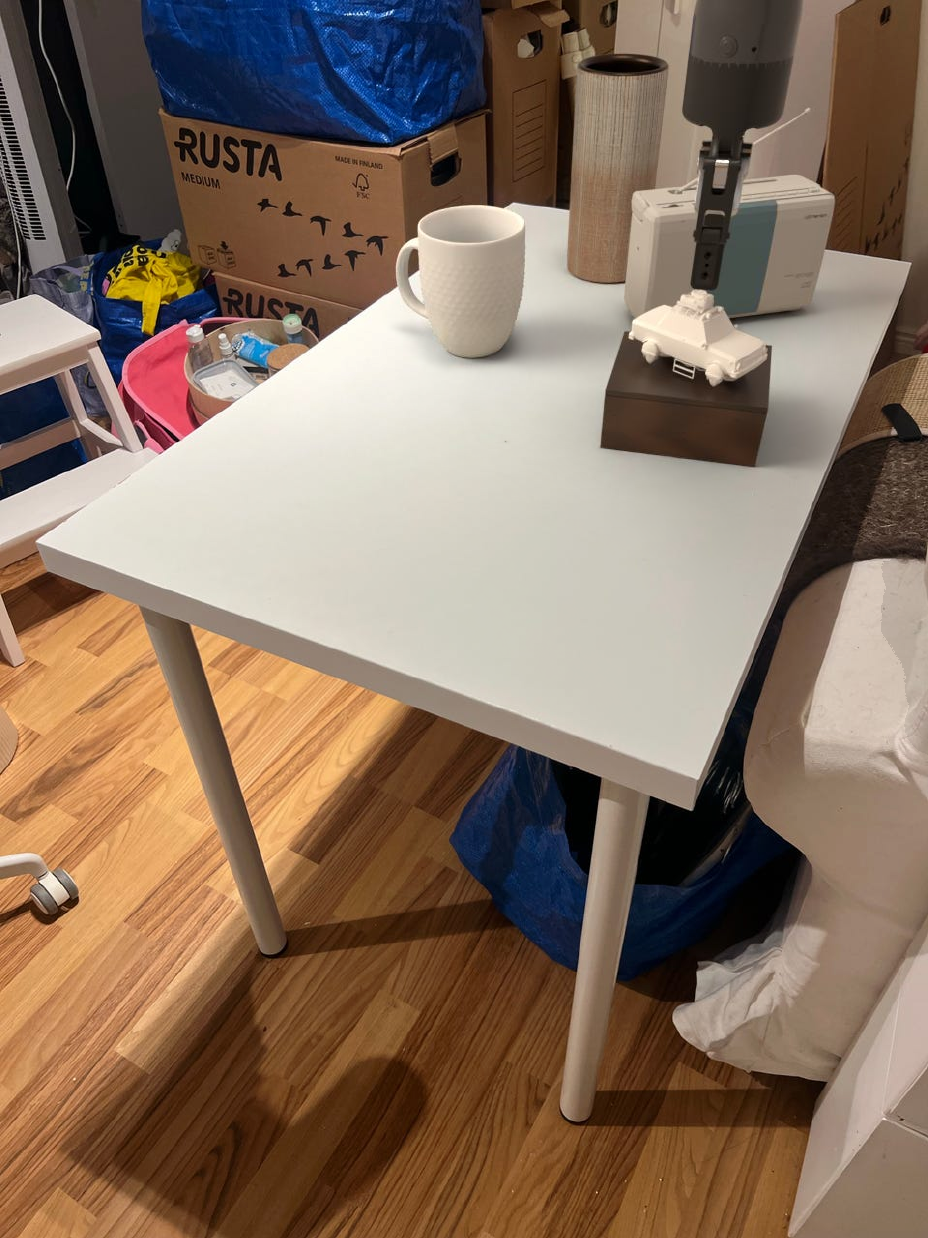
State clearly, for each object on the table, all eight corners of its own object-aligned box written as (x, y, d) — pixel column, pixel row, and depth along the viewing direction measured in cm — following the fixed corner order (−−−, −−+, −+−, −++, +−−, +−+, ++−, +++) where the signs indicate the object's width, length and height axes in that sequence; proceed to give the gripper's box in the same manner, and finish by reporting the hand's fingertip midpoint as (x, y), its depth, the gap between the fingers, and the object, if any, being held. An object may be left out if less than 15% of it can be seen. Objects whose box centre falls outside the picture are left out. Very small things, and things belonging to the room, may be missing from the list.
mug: (375, 346, 101) (364, 225, 92) (427, 309, 108) (421, 193, 99) (493, 376, 96) (493, 250, 87) (540, 334, 103) (544, 214, 94)
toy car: (730, 400, 79) (745, 325, 74) (620, 356, 85) (627, 285, 81) (767, 376, 82) (784, 302, 78) (658, 335, 88) (667, 265, 84)
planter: (557, 256, 119) (567, 55, 104) (631, 250, 120) (652, 50, 105) (578, 287, 112) (591, 76, 96) (656, 280, 113) (682, 70, 98)
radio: (641, 338, 101) (664, 141, 88) (615, 307, 107) (632, 119, 94) (812, 315, 105) (860, 122, 91) (778, 287, 111) (817, 102, 97)
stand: (759, 401, 91) (772, 345, 87) (754, 467, 82) (768, 407, 78) (618, 386, 94) (624, 330, 89) (600, 447, 85) (605, 389, 81)
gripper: (794, 71, 61) (749, 306, 72) (796, 29, 71) (756, 241, 82) (680, 67, 63) (653, 298, 73) (697, 27, 73) (671, 235, 84)
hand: (707, 268), depth 78 cm, fingers open, 8 cm apart
